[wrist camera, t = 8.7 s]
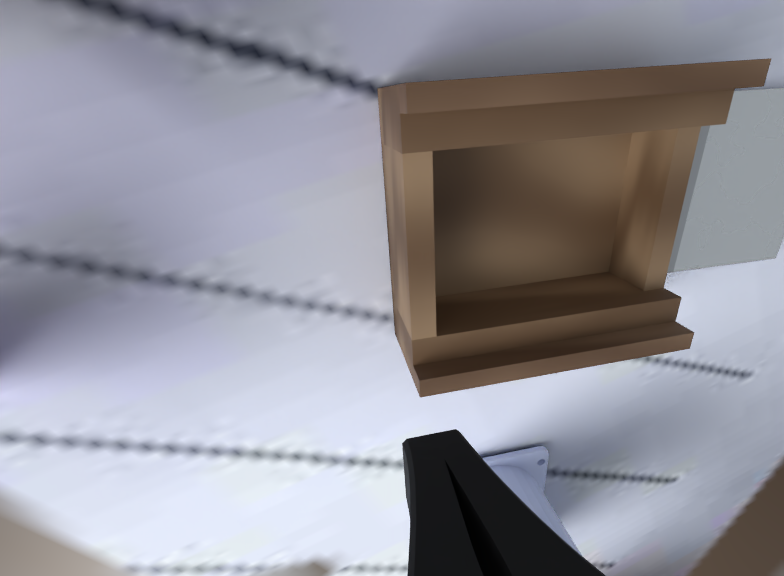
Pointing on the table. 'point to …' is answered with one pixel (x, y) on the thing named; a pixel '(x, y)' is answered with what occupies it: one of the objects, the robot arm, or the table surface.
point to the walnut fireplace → (541, 215)
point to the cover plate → (735, 187)
